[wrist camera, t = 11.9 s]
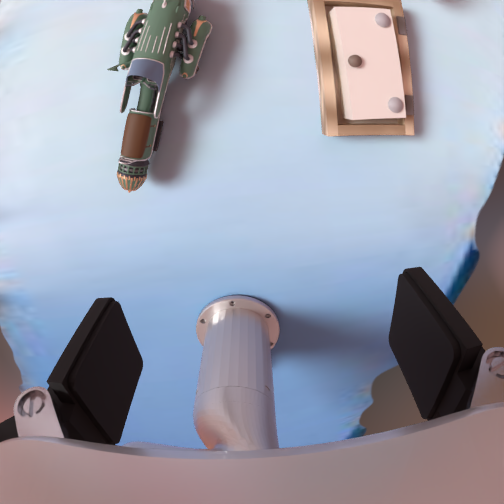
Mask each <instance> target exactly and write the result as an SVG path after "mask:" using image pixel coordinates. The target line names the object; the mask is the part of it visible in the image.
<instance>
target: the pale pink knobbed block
mask: <svg viewBox="0 0 504 504" xmlns="http://www.w3.org/2000/svg"><path fill="white" fill-rule="evenodd" d="M326 17H327V22H328V27H329V32H330V38H331V43H332V49H333V55H334V61H335V67H336V73H337V80H338V87H339V94H340V101H341V109H342V118H345V119H350V120H362V119H383V118H406V110H405V99H404V90H403V82H402V74H401V67H400V60H399V54H398V48H397V42H396V36H395V31H394V26H393V21H392V16H391V11H390V9H381V8H366V7H334V8H333V9H332V10H331V11H330V12H329V13H328V14H327V15H326Z"/></svg>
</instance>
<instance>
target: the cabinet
mask: <svg viewBox="0 0 504 504" xmlns="http://www.w3.org/2000/svg"><path fill="white" fill-rule="evenodd" d="M307 1H308V8H309V14H310V21H311V29H312V36H313V44H314V52H315V60H316V69H317V79H318V89H319V100H320V111H321V124H322V134H324V135H326V136H349V135H414V103H413V93H412V79H411V68H410V58H409V49H408V41H407V31H406V24H405V18H404V14H403V9H402V3H401V0H307ZM334 7H366V8H381V9H390V11H391V16H392V21H393V26H394V31H395V36H396V42H397V48H398V54H399V60H400V67H401V74H402V82H403V90H404V99H405V110H406V118H383V119H362V120H350V119H345V118H342V109H341V101H340V94H339V87H338V80H337V73H336V67H335V61H334V55H333V49H332V43H331V38H330V32H329V27H328V22H327V17H326V15H327V14H328V13H329V12H330V11H331V10H332V9H333V8H334Z"/></svg>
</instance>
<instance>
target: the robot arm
mask: <svg viewBox="0 0 504 504" xmlns="http://www.w3.org/2000/svg"><path fill="white" fill-rule="evenodd" d="M279 330H280V328H279V322H278V319H277V316H276V315H275V313H274V311H273V310H272V309H271V308H270V307H269V306H268V305H266V304H265V303H263V302H262V301H259V300H257V299H255V298H252V297H248V296H240V295H234V296H226V297H222V298H219V299H216V300H214V301H212V302H211V303H209V304H208V305H207V306H206V307H205V308H204V309H203V310H202V311H201V313H200V314H199V317H198V320H197V325H196V333H197V337H198V339H199V341H200V343H201V344H202V346H203V352H202V358H201V365H200V371H199V377H198V384H197V390H196V397H195V404H194V410H193V420H194V426H195V429H196V431H197V433H198V435H199V437H200V439H201V440H202V442H203V443H204V445H205V446H206V447H207V448H208V449H193V448H185V447H177V446H170V445H163V444H155V443H149V442H129V443H126V444H124V445H123V446H117V445H115V444H117V443H119V442H120V439H121V436H122V432H123V429H124V425H125V422H126V419H127V415H128V412H129V409H130V406H131V402H132V399H133V396H134V393H135V390H136V387H137V383H138V380H139V377H140V374H141V371H142V368H143V360H142V357H141V355H140V352H139V350H138V348H137V345H136V343H135V341H134V338H133V336H132V333H131V331H130V328H129V326H128V323H127V321H126V318H125V316H124V313H123V311H122V308H121V305H120V303H119V302H117V301H115V300H114V298H112V297H111V298H98V299H96V300H95V302H94V303H93V305H92V306H91V308H90V309H89V311H88V312H87V314H86V316H85V317H84V319H83V320H82V322H81V324H80V325H79V327H78V328H77V330H76V332H75V333H74V335H73V337H72V338H71V340H70V342H69V343H68V345H67V347H66V348H65V350H64V352H63V353H62V355H61V357H60V359H59V360H58V362H57V364H56V366H55V367H54V369H53V371H52V373H51V375H50V376H49V378H48V380H47V383H48V384H49V388H48V390H46V389H45V388H43V387H32V388H29V389H27V390H25V391H24V392H23V393H22V394H21V395H19V397H18V398H17V400H16V401H15V404H14V416H13V417H11V418H9V419H7V420H5V421H4V422H2V423H0V504H504V348H501V347H494V348H491V349H488V350H487V351H486V352H485V350H484V349H483V347H482V343H481V341H480V340H479V339H478V337H477V336H476V334H475V333H474V332H473V330H472V329H471V328H470V327H469V325H468V324H467V323H466V321H465V320H464V319H463V317H462V316H461V315H460V314H459V312H458V311H457V310H456V308H455V307H454V306H453V305H452V303H451V302H450V301H449V300H448V298H447V297H446V296H445V295H444V293H443V292H442V291H441V290H440V289H439V287H438V286H437V285H436V284H435V283H434V281H433V280H432V279H431V278H430V277H429V275H428V274H427V273H426V272H425V271H424V270H423V269H422V268H421V267H416V268H408V269H405V270H404V271H403V274H400V275H399V278H398V284H397V291H396V298H395V304H394V310H393V316H392V322H391V327H390V332H389V344H390V347H391V349H392V351H393V353H394V355H395V357H396V359H397V362H398V364H399V366H400V368H401V370H402V372H403V375H404V377H405V379H406V381H407V384H408V385H409V388H410V390H411V392H412V395H413V397H414V399H415V402H416V404H417V407H418V409H419V411H420V414H421V416H422V418H423V419H427V420H428V421H426V422H422V423H418V424H414V425H411V426H407V427H403V428H399V429H395V430H391V431H387V432H382V433H377V434H373V435H368V436H363V437H358V438H353V439H347V440H341V441H335V442H329V443H322V444H315V445H307V446H299V447H289V448H279V444H278V437H277V428H276V416H275V401H274V387H273V373H272V360H271V349H272V348H273V347H274V346H275V344H276V342H277V341H278V337H279Z"/></svg>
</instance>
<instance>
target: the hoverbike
mask: <svg viewBox="0 0 504 504" xmlns="http://www.w3.org/2000/svg"><path fill="white" fill-rule="evenodd" d="M192 6H193V9H194V8H195V3H194V0H192ZM142 11H143V10H142V9H138V10H137V12H136V13H134V14H133V15H132V16H131V17H130V19H129V20H128V22H127V25H126V28H125V32H124V36H123V41H122V46H121V52H120V59H119V65H116V66H114V67H112V68H109V69H107V70H112V71H118V69H117V67H118V66H120V68H121V69H123V70H128V74H127V78H126V83H125V87H124V92H123V96H122V101H121V106H120V112H121V113H123V112H124V111H125V109H126V106H127V103H128V99H129V94H130V90H131V86H134V85H136V84H138V83H140V86H141V89H140V96H139V101H138V106H137V111H136V109H135V108H131V109H129V110H130V112H129V114H128V117H127V121H126V125H125V130H124V136H123V142H122V149H121V155H120V159H119V161H118V162H119V167H118V171H117V177H118V180H119V183H120V185H121V186H122V188H123V189H124V190H128V192H129V193H130V192H131V191H132V190H133V191H136V190H137V189H138V188H140V187H141V186H142V184H143V183H144V181H145V180H146V179H147V169H148V165H149V164H150V163H149V161H148V159H149V158H150V157H151V155H152V151H157V149H158V144H159V139H160V135H161V130H162V126H163V121H160V120H159V119H160V112H161V109H162V105H163V101H164V97H165V93H166V89H167V85H168V82H169V78H170V75H171V72H172V70H173V67H174V65H175V61H176V57H179V58H181V59H182V61H181V65H180V70H179V74H180V76H181V77H182V78H184V79H190V78H192V77H194V75H195V73H196V72H197V71H198V69H199V68H198V63H199V60H200V57H201V54H202V51H203V48H204V45H205V42H206V41H207V39H208V36H209V34H210V33H211V30H212V24H211V23H210V22H209V21H207V20H205V19H206V17H205V16H199V18H198V19H197V20H195V21H194V22H193V23H192V24H191V26H190V27H189V26H188V25H186V22H187V20H188V17H189V14H190V12H191V1H190V0H153V2H152V4H151V7H150V10H149V13H148V14H147V13H142ZM184 29H186V31H187V38H186V36H185V35H184V34H182V33H183V30H184ZM181 39H182V43H183V45H182V44H180V41H181ZM178 51H182V52H183V55H182V54H181V53H179V52H178ZM132 83H133V84H132ZM134 83H135V84H134Z"/></svg>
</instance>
